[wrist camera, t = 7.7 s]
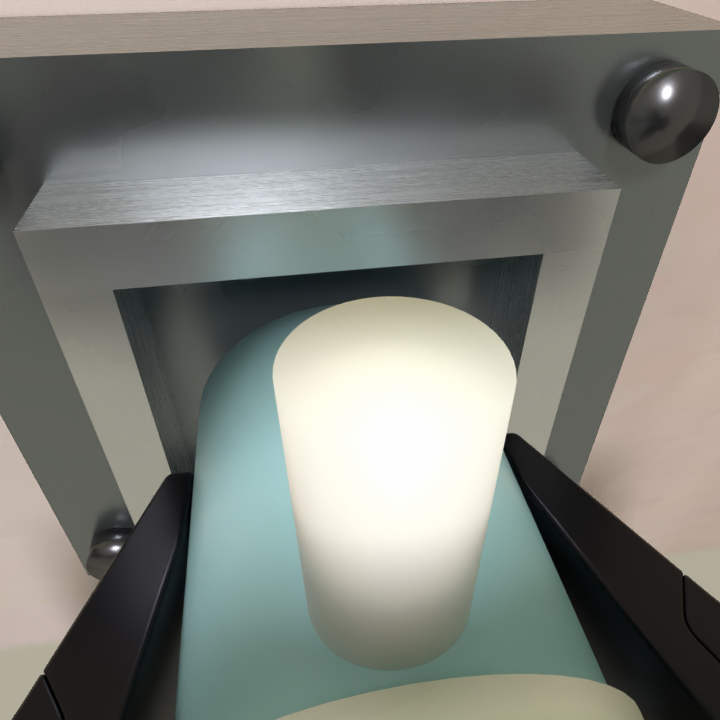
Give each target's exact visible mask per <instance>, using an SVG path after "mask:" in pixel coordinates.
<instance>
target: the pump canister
mask: <svg viewBox="0 0 720 720" xmlns="http://www.w3.org/2000/svg"><path fill="white" fill-rule="evenodd" d="M516 383H517V378H516V368H515V364H514V360H513V358H512V356H511V353H510V351H509V349H508V348H507V346H506V345H505V343H504V342H503V341H502V340H501V338H500V337H499V336H498V335H497V334H496V333H495V332H494V331H493V330H492V329H490V328H489V327H488V326H487V325H486V324H484V323H483V322H481V321H480V320H478V319H477V318H475V317H473V316H471V315H470V314H468V313H466V312H464V311H461V310H459V309H457V308H454V307H451V306H448V305H445V304H442V303H439V302H435V301H430V300H425V299H419V298H412V297H396V296H386V297H372V298H365V299H358V300H354V301H349V302H345V303H342V304H336V305H327V306H321V307H314V308H309V309H306V310H302V311H298V312H295V313H291V314H289V315H286V316H283V317H281V318H278V319H276V320H273V321H271V322H269V323H267V324H266V325H264V326H262V327H260V328H258V329H256V330H255V331H253V332H252V333H250V334H249V335H247V336H246V337H244V338H243V339H242V340H240V341H239V342H238V343H237V344H236V345H235V346H234V347H232V348H231V349H230V350H229V351H228V352H227V353H226V354H225V355H224V357H223V358H222V359H221V360H220V361H219V363H218V364H217V365H216V366H215V368H214V370H213V371H212V373H211V375H210V376H209V378H208V380H207V383H206V385H205V388H204V390H203V393H202V398H201V403H200V409H199V422H198V434H197V446H196V459H195V471H194V483H193V496H192V508H191V520H190V533H189V545H188V557H187V570H186V582H185V594H184V607H183V619H182V631H181V644H180V656H179V668H178V681H177V693H176V705H175V718H174V720H644V718H643V716H642V714H641V712H640V710H639V708H638V706H637V705H636V703H635V701H634V700H633V699H632V698H630V697H629V696H628V695H627V694H625V693H624V692H622V691H620V690H618V689H616V688H614V687H611V686H609V685H607V683H606V681H605V678H604V676H603V674H602V672H601V669H600V667H599V665H598V663H597V660H596V658H595V656H594V654H593V651H592V649H591V647H590V645H589V642H588V640H587V638H586V636H585V633H584V631H583V629H582V627H581V624H580V622H579V620H578V618H577V615H576V613H575V611H574V609H573V606H572V604H571V602H570V600H569V597H568V595H567V593H566V591H565V588H564V586H563V584H562V582H561V579H560V577H559V575H558V573H557V570H556V568H555V566H554V563H553V561H552V559H551V557H550V554H549V552H548V550H547V548H546V545H545V543H544V541H543V539H542V536H541V534H540V532H539V530H538V527H537V525H536V523H535V521H534V518H533V516H532V514H531V512H530V509H529V507H528V505H527V503H526V500H525V498H524V496H523V494H522V491H521V489H520V487H519V485H518V482H517V480H516V478H515V476H514V473H513V471H512V469H511V467H510V464H509V462H508V460H507V458H506V455H505V453H504V451H503V448H504V443H505V438H506V433H507V428H508V423H509V418H510V413H511V409H512V404H513V399H514V394H515V388H516Z"/></svg>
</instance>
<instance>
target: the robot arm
mask: <svg viewBox="0 0 720 720" xmlns="http://www.w3.org/2000/svg"><path fill="white" fill-rule="evenodd" d="M503 451H504V453H505V455H506V458H507V460H508V462H509V464H510V467H511V469H512V471H513V473H514V476H515V478H516V480H517V482H518V485H519V487H520V489H521V491H522V494H523V496H524V498H525V500H526V503H527V505H528V507H529V509H530V512H531V514H532V516H533V518H534V521H535V523H536V525H537V527H538V530H539V532H540V534H541V536H542V539H543V541H544V543H545V545H546V548H547V550H548V552H549V554H550V557H551V559H552V561H553V563H554V566H555V568H556V570H557V573H558V575H559V577H560V579H561V582H562V584H563V586H564V588H565V591H566V593H567V595H568V597H569V600H570V602H571V604H572V606H573V609H574V611H575V613H576V615H577V618H578V620H579V622H580V624H581V627H582V629H583V631H584V633H585V636H586V638H587V640H588V642H589V645H590V647H591V649H592V651H593V654H594V656H595V658H596V660H597V663H598V665H599V667H600V669H601V672H602V674H603V676H604V678H605V681H606V683H607V685H609V686H611V687H614V688H616V689H618V690H620V691H622V692H624V693H625V694H627V695H628V696H629V697H630V698H632V699H633V700H634V701H635V703H636V705H637V706H638V708H639V710H640V712H641V714H642V716H643V718H644V720H720V602H719V601H718V600H716V599H715V598H714V597H712V596H711V595H710V594H709V593H708V592H706V591H705V590H704V589H703V588H702V587H700V586H699V585H698V584H697V583H696V582H694V581H693V580H692V579H691V578H689V577H688V576H687V575H684V576H683V573H682V571H681V570H680V569H678V568H677V567H676V566H675V565H674V564H672V563H671V562H670V561H669V560H668V559H667V558H665V557H664V556H663V555H662V554H661V553H659V552H658V551H657V550H656V549H655V548H653V547H652V546H651V545H650V544H649V543H647V542H646V541H645V540H644V539H643V538H641V537H640V536H639V535H638V534H637V533H635V532H634V531H633V530H632V529H631V528H629V527H628V526H627V525H626V524H625V523H623V522H622V521H621V520H620V519H619V518H617V517H616V516H615V515H614V514H613V513H612V512H610V511H609V510H608V509H607V508H606V507H604V506H603V505H602V504H601V503H600V502H598V501H597V500H596V499H595V498H594V497H592V496H591V495H590V494H589V493H588V492H586V491H585V490H584V489H583V488H582V487H580V486H579V485H578V484H577V483H576V482H574V481H573V480H572V479H571V478H570V477H568V476H567V475H566V474H565V473H564V472H562V471H561V470H560V469H559V468H558V467H556V466H555V465H554V464H553V463H552V462H550V461H549V460H548V459H547V458H546V457H544V456H543V455H542V454H541V453H540V452H539V451H537V450H536V449H535V448H534V447H533V446H531V445H530V444H529V443H528V442H527V441H525V440H524V439H523V438H522V437H521V436H519V435H518V434H516V433H506V438H505V443H504V448H503ZM193 483H194V473H193V472H180V473H172V474H169V475H168V476H167V477H166V478H165V479H164V481H163V482H162V484H161V485H160V487H159V489H158V490H157V492H156V493H155V495H154V496H153V498H152V500H151V501H150V503H149V504H148V506H147V508H146V509H145V511H144V512H143V514H142V515H141V517H140V519H139V520H138V522H137V523H136V525H135V526H134V528H133V530H132V531H131V533H130V534H129V536H128V538H127V539H126V541H125V542H124V544H123V545H122V547H121V549H120V550H119V552H118V553H117V555H116V557H115V558H114V560H113V561H112V563H111V564H110V566H109V568H108V569H107V571H106V572H105V574H104V575H103V577H102V579H101V580H100V582H99V583H98V585H97V587H96V588H95V590H94V591H93V593H92V594H91V596H90V598H89V599H88V601H87V602H86V604H85V605H84V607H83V609H82V610H81V612H80V613H79V615H78V617H77V618H76V620H75V621H74V623H73V624H72V626H71V628H70V629H69V631H68V632H67V634H66V636H65V637H64V639H63V640H62V642H61V643H60V645H59V647H58V649H57V650H56V651H55V653H54V655H53V656H52V658H51V659H50V661H49V662H48V664H47V666H46V667H45V669H44V673H45V675H40V676H39V678H38V680H37V681H36V682H35V684H34V686H33V687H32V689H31V690H30V692H29V694H28V695H27V697H26V699H25V700H24V702H23V703H22V705H21V706H20V708H19V709H18V711H17V712H16V714H15V715H14V717H13V718H12V720H174V718H175V705H176V693H177V681H178V668H179V656H180V644H181V631H182V619H183V607H184V594H185V582H186V570H187V557H188V545H189V533H190V520H191V508H192V496H193Z"/></svg>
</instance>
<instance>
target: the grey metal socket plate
mask: <svg viewBox="0 0 720 720" xmlns="http://www.w3.org/2000/svg"><path fill="white" fill-rule="evenodd" d="M719 95H720V21H717V20H714V19H711V18H707V17H704V16H701V15H698V14H695V13H691V12H688V11H685V10H682V9H678V8H675V7H672V6H669V5H666V4H662V3H659V2H656V1H653V0H537V1H506V2H475V3H443V4H412V5H380V6H349V7H317V8H286V9H255V10H223V11H192V12H160V13H129V14H97V15H66V16H35V17H3V18H0V415H1V416H2V418H3V420H4V422H5V424H6V425H7V427H8V429H9V431H10V433H11V435H12V436H13V438H14V440H15V442H16V444H17V446H18V447H19V449H20V451H21V453H22V455H23V457H24V458H25V460H26V462H27V464H28V466H29V467H30V469H31V471H32V473H33V475H34V477H35V478H36V480H37V482H38V484H39V486H40V488H41V489H42V491H43V493H44V495H45V497H46V499H47V500H48V502H49V504H50V506H51V508H52V509H53V511H54V513H55V515H56V517H57V519H58V520H59V522H60V524H61V526H62V528H63V530H64V531H65V533H66V535H67V537H68V539H69V540H70V542H71V544H72V546H73V548H74V550H75V551H76V553H77V555H78V557H79V559H80V561H81V562H82V564H83V566H84V568H85V570H86V572H87V573H88V575H92V576H93V577H95V578H97V579H99V580H101V579H102V577H103V575H104V574H105V572H106V571H107V569H108V568H109V566H110V564H111V563H112V561H113V560H114V558H115V557H116V555H117V553H118V552H119V550H120V549H121V547H122V545H123V544H124V542H125V541H126V539H127V538H128V536H129V534H130V533H131V531H132V530H133V528H134V526H135V525H136V523H137V522H138V520H139V519H140V517H141V515H142V514H143V512H144V511H145V509H146V508H147V506H148V504H149V503H150V501H151V500H152V498H153V496H154V495H155V493H156V492H157V490H158V489H159V487H160V485H161V484H162V482H163V481H164V479H165V478H166V477H167V476H168V475H169V474H172V473H180V472H193V473H194V471H195V459H196V446H197V434H198V422H199V409H200V403H201V398H202V393H203V390H204V388H205V385H206V383H207V380H208V378H209V376H210V375H211V373H212V371H213V370H214V368H215V366H216V365H217V364H218V363H219V361H220V360H221V359H222V358H223V357H224V355H225V354H226V353H227V352H228V351H229V350H230V349H231V348H232V347H234V346H235V345H236V344H237V343H238V342H239V341H240V340H242V339H243V338H244V337H246V336H247V335H249V334H250V333H252V332H253V331H255V330H256V329H258V328H260V327H262V326H264V325H266V324H267V323H269V322H271V321H273V320H276V319H278V318H281V317H283V316H286V315H289V314H291V313H295V312H298V311H302V310H306V309H309V308H314V307H321V306H327V305H336V304H342V303H345V302H349V301H354V300H358V299H365V298H372V297H386V296H396V297H412V298H419V299H425V300H430V301H435V302H439V303H442V304H445V305H448V306H451V307H454V308H457V309H459V310H461V311H464V312H466V313H468V314H470V315H471V316H473V317H475V318H477V319H478V320H480V321H481V322H483V323H484V324H486V325H487V326H488V327H489V328H490V329H492V330H493V331H494V332H495V333H496V334H497V335H498V336H499V337H500V338H501V340H502V341H503V342H504V343H505V345H506V346H507V348H508V349H509V351H510V353H511V356H512V358H513V360H514V364H515V368H516V378H517V383H516V388H515V394H514V399H513V404H512V409H511V413H510V418H509V423H508V428H507V433H516V434H518V435H519V436H521V437H522V438H523V439H524V440H525V441H527V442H528V443H529V444H530V445H531V446H533V447H534V448H535V449H536V450H537V451H539V452H540V453H541V454H542V455H543V456H544V457H546V458H547V459H548V460H549V461H550V462H552V463H553V464H554V465H555V466H556V467H558V468H559V469H560V470H561V471H562V472H564V473H565V474H566V475H567V476H568V477H570V478H571V479H572V480H573V481H574V482H576V483H577V484H578V485H579V482H580V480H581V477H582V474H583V471H584V469H585V466H586V463H587V460H588V457H589V455H590V452H591V449H592V446H593V444H594V441H595V438H596V435H597V433H598V430H599V427H600V424H601V422H602V419H603V416H604V413H605V410H606V408H607V405H608V402H609V399H610V397H611V394H612V391H613V388H614V386H615V383H616V380H617V377H618V374H619V372H620V369H621V366H622V363H623V361H624V358H625V355H626V352H627V350H628V347H629V344H630V341H631V339H632V336H633V333H634V330H635V327H636V325H637V322H638V319H639V316H640V314H641V311H642V308H643V305H644V303H645V300H646V297H647V294H648V292H649V289H650V286H651V283H652V280H653V278H654V275H655V272H656V269H657V267H658V264H659V261H660V258H661V256H662V253H663V250H664V247H665V245H666V242H667V239H668V236H669V233H670V231H671V228H672V225H673V222H674V220H675V217H676V214H677V211H678V209H679V206H680V203H681V200H682V198H683V195H684V192H685V189H686V186H687V184H688V181H689V178H690V175H691V173H692V170H693V167H694V164H695V162H696V159H697V156H698V153H699V151H700V148H701V145H702V142H703V139H704V137H705V136H706V135H707V133H708V132H709V130H710V129H711V127H712V125H713V123H714V121H715V119H716V116H717V113H718V108H719V100H720V98H719Z"/></svg>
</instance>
